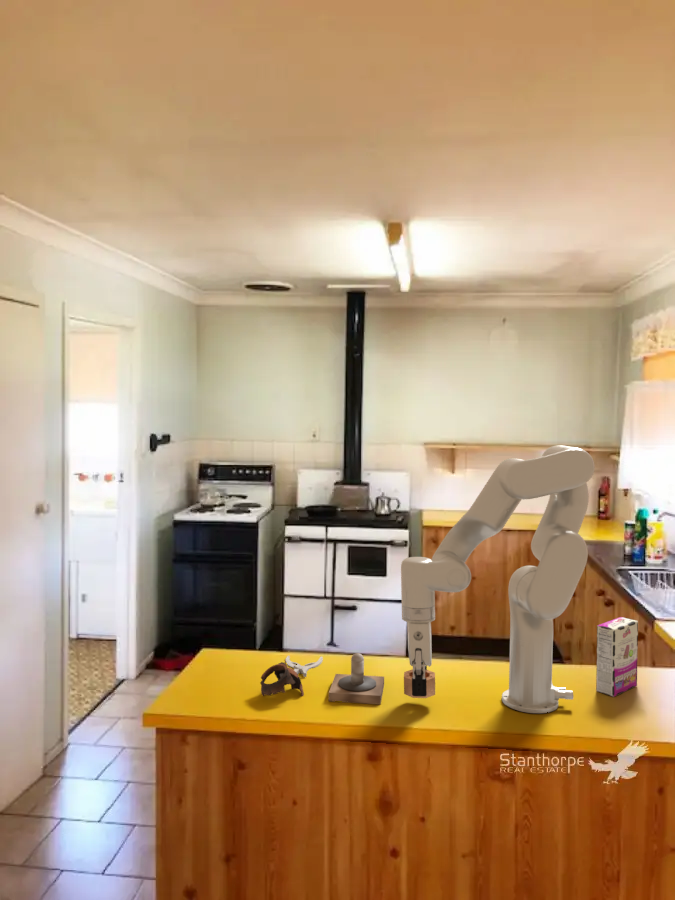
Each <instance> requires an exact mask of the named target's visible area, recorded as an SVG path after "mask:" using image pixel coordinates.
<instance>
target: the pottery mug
mask: <svg viewBox="0 0 675 900" xmlns="http://www.w3.org/2000/svg"><path fill="white" fill-rule="evenodd" d="M273 673H274V675H275V677H276V678H277V680H276V681H275V682H271V683H265V682H266V680H267V678H269V676H270V675H272V674H273ZM260 679H261V680H260V682H259V683H260V685H261V686H260V692H261V695H262V696H263V697H265V696H272V695H276V694H279V693H286V690H285V689H286V688H285V686H287V685H290V688H291V690H298V691H299V692H300V696H301V697H304V695H305V693H304V688H303V684H302V680H301V678H300V677H299V674H297V673H296V672H295V671H294V669H293V668H291V667H289V666H288V665H287V664H286V662H283V661H281V662H280V663H278V664H277V663H276V664H274V665H272V666H270V667H269V668H267V669H266V670H265V671H264V672H263V673H262V675H261V677H260Z"/></svg>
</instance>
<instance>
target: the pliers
mask: <svg viewBox="0 0 675 900" xmlns="http://www.w3.org/2000/svg"><path fill="white" fill-rule="evenodd" d="M290 658H291V656H290V655H287V656H286V658H285V664H286V663H287V664H286V665H287V667H289V666H290V667H289V668H291V667H292V668H291V669H293V668H294V669H293V670H294V671H295V672H296V673H297V674H298V675H299V673H300V674H301V675H302V674H303V675H302V676H304V677H306V678H307V675H308V671H309V669H310V670H312V669H316V668H317V667H319V666H320V665H321V664H322V663H323V660H324V657H323V656H320V657H319V658H318V660H317V661H316V662H314V661H313V662H309V663H306V664H304V665H301V664H300V663H298V662H295V661H291V659H290ZM296 664H297V665H296ZM311 668H312V669H311ZM304 677H303V678H304Z"/></svg>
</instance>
